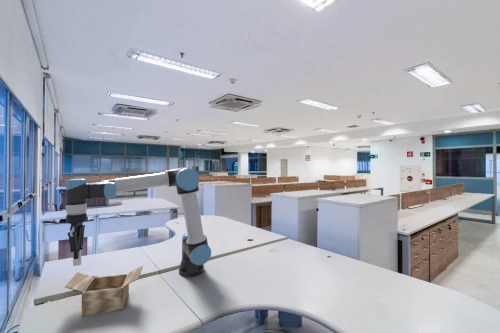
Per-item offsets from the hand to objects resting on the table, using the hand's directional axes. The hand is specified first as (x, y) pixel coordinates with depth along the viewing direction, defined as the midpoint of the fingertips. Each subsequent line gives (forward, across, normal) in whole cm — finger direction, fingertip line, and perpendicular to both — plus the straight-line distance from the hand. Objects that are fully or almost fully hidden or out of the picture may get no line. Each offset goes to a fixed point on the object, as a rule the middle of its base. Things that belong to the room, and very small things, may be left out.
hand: (77, 264), depth 108 cm
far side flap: (+9, 0, +4) cm, 10 cm away
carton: (+20, 0, +12) cm, 23 cm away
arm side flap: (+10, 0, +20) cm, 22 cm away
